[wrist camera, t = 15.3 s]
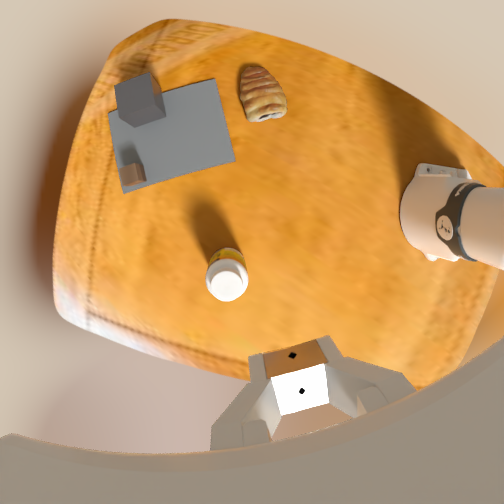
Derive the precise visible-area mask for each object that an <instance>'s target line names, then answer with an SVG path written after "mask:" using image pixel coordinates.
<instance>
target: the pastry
mask: <svg viewBox="0 0 504 504" xmlns="http://www.w3.org/2000/svg"><path fill="white" fill-rule="evenodd" d="M240 90H241V94H240V99H241V101H242V102H243V106H244V109H245V112H246V115H247V120H248V121H250V122H254V121H256V122H260V121H264V120H267V119H269V118H279V117H282V116H283V115H285V114H286V112H287V110H288V109H287V100H286V97H285V94H284V92H283V90H282V87H281V86H280V85H279V83H278V81H276V79H275V78H274V77H273V76H272V75H270V73H269V72H268V71H267V70H266V69H265V68H262V67H247V68H246V69H245V70H244V72H243V73H242V74H241V83H240Z"/></svg>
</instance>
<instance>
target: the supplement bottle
mask: <svg viewBox="0 0 504 504" xmlns="http://www.w3.org/2000/svg"><path fill="white" fill-rule="evenodd" d="M206 285H207V288H208V290H209V291H210V293H211V294H212V295H214V296H215V297H216V298H217V299H219V300H222V301H232V300H234V299H236V298H237V297H239V296H240V295H242V294H243V292H244V291H245V290H246V288H247V285H248V274H247V269H246V264H245V260H244V257H243V256H242V254H241V253H240V252H239V251H237V250H236V249H233V248H222V249H219V250H218V251H216V252H215V253H214V254H213V255H212V257H211V259H210V262H209V266H208V269H207V273H206Z"/></svg>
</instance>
